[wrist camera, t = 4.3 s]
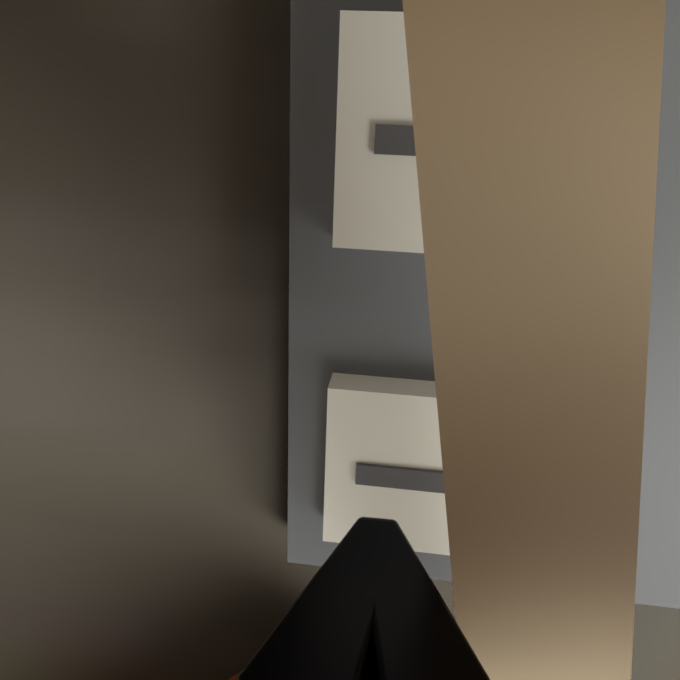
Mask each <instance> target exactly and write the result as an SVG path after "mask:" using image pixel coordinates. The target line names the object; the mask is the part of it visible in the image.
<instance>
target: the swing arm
mask: <svg viewBox="0 0 680 680" xmlns="http://www.w3.org/2000/svg"><path fill="white" fill-rule="evenodd" d="M402 1H403V13H404V25H405V36H406V48H407V60H408V71H409V83H410V95H411V106H412V118H413V130H414V141H415V153H416V165H417V176H418V188H419V200H420V211H421V223H422V235H423V247H424V258H425V270H426V282H427V293H428V305H429V317H430V328H431V340H432V352H433V363H434V375H435V387H436V398H437V410H438V422H439V433H440V445H441V457H442V468H443V480H444V492H445V503H446V515H447V527H448V538H449V550H450V562H451V573H452V585H453V597H454V608H455V620H456V622H457V624H458V626H459V627H460V629H461V631H462V632H463V634H464V636H465V637H466V639H467V641H468V643H469V644H470V646H471V648H472V649H473V651H474V653H475V654H476V656H477V658H478V659H479V661H480V663H481V665H482V666H483V668H484V670H485V671H486V673H487V675H488V676H489V678H490V680H631V669H632V649H633V630H634V610H635V591H636V572H637V552H638V533H639V514H640V494H641V475H642V456H643V436H644V417H645V398H646V378H647V359H648V340H649V320H650V301H651V282H652V262H653V243H654V224H655V204H656V185H657V166H658V146H659V127H660V108H661V88H662V69H663V50H664V30H665V11H666V0H402Z"/></svg>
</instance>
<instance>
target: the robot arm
mask: <svg viewBox="0 0 680 680" xmlns="http://www.w3.org/2000/svg"><path fill="white" fill-rule="evenodd" d="M237 680H490V678H489V676H488V675H487V673H486V671H485V670H484V668H483V666H482V665H481V663H480V661H479V659H478V658H477V656H476V654H475V653H474V651H473V649H472V648H471V646H470V644H469V643H468V641H467V639H466V637H465V636H464V634H463V632H462V631H461V629H460V627H459V626H458V624H457V622H456V621H455V619H454V617H453V615H452V614H451V612H450V610H449V609H448V607H447V605H446V604H445V602H444V600H443V599H442V597H441V595H440V593H439V592H438V590H437V588H436V587H435V585H434V583H433V582H432V580H431V578H430V576H429V575H428V573H427V571H426V570H425V568H424V566H423V565H422V563H421V561H420V560H419V558H418V556H417V554H416V553H415V551H414V549H413V548H412V546H411V544H410V543H409V541H408V539H407V538H406V536H405V534H404V532H403V531H402V529H401V527H400V526H399V524H398V523H397V521H395V520H393V519H384V518H373V517H360V518H358V520H357V521H356V522H355V523H354V525H353V526H352V527H351V529H350V530H349V531H348V533H347V534H346V535H345V536H344V538H343V539H342V540H341V542H340V543H339V544H338V546H337V547H336V548H335V550H334V551H333V552H332V553H331V555H330V556H329V557H328V559H327V560H326V561H325V563H324V564H323V565H322V567H321V568H320V569H319V571H318V572H317V573H316V574H315V576H314V577H313V578H312V580H311V581H310V582H309V584H308V585H307V586H306V588H305V589H304V590H303V592H302V593H301V594H300V595H299V597H298V598H297V599H296V601H295V602H294V603H293V605H292V606H291V607H290V609H289V610H288V611H287V612H286V614H285V615H284V616H283V618H282V619H281V620H280V622H279V623H278V624H277V626H276V627H275V628H274V630H273V631H272V632H271V633H270V635H269V636H268V637H267V639H266V640H265V641H264V643H263V644H262V645H261V647H260V648H259V649H258V651H257V652H256V653H255V654H254V656H253V657H252V658H251V660H250V661H249V662H248V664H247V665H246V666H245V668H244V669H243V670H242V671H241V673H240V674H239V675H238V678H237Z"/></svg>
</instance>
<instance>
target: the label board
mask: <svg viewBox="0 0 680 680" xmlns="http://www.w3.org/2000/svg"><path fill="white" fill-rule="evenodd" d="M360 517H373V518H384V519H393V520H395V521H397V523H398V524H399V526H400V527H401V529H402V531H403V532H404V534H405V536H406V538H407V539H408V541H409V543H410V544H411V546H412V548H413V549H414V551H415V553H416V554H417V556H418V558H419V560H420V561H421V563H422V565H423V566H424V568H425V570H426V571H427V573H428V575H429V576H430V578H431V579H433V580H441V581H450V582H452V573H451V562H450V550H449V538H448V527H447V515H446V503H445V492H444V480H443V468H442V457H441V445H440V433H439V422H438V410H437V398H436V387H435V375H434V363H433V352H432V340H431V328H430V317H429V305H428V293H427V282H426V270H425V258H424V247H423V235H422V223H421V211H420V200H419V188H418V176H417V165H416V153H415V141H414V130H413V118H412V106H411V95H410V83H409V71H408V60H407V48H406V36H405V25H404V13H403V1H402V0H291V21H290V200H289V380H288V559H287V562H289V563H297V564H306V565H314V566H322V565H323V564H324V563H325V561H326V560H327V559H328V557H329V556H330V555H331V553H332V552H333V551H334V550H335V548H336V547H337V546H338V544H339V543H340V542H341V540H342V539H343V538H344V536H345V535H346V534H347V533H348V531H349V530H350V529H351V527H352V526H353V525H354V523H355V522H356V521H357V520H358V518H360ZM635 603H636V604H645V605H653V606H662V607H670V608H679V609H680V0H666V11H665V30H664V50H663V69H662V88H661V108H660V127H659V146H658V166H657V185H656V204H655V224H654V243H653V262H652V282H651V301H650V320H649V340H648V359H647V378H646V398H645V417H644V436H643V456H642V475H641V494H640V514H639V533H638V552H637V572H636V591H635Z"/></svg>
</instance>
